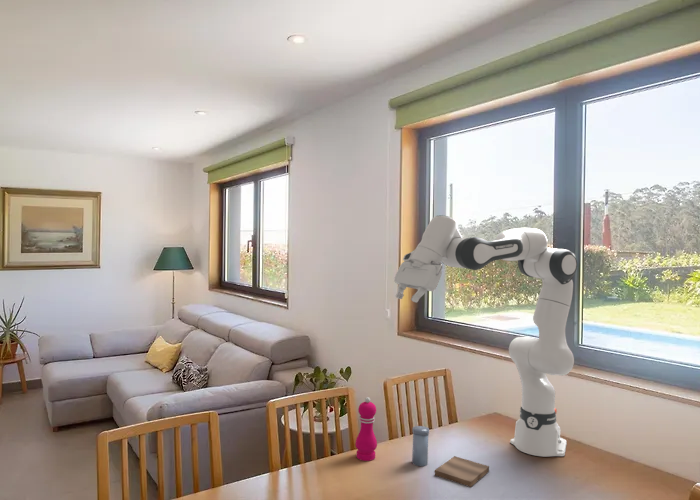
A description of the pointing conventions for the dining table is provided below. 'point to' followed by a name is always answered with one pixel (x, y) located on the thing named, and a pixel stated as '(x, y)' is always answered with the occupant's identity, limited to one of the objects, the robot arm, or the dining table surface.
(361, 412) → the pepper mill
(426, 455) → the spice jar
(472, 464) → the walnut board
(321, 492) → the dining table surface
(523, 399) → the robot arm
